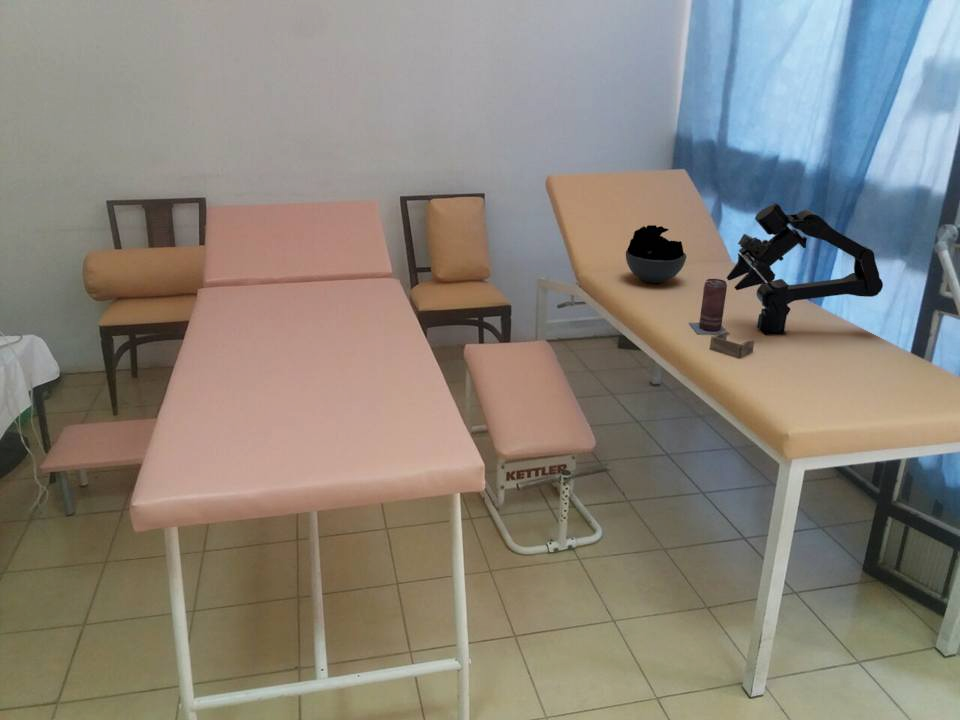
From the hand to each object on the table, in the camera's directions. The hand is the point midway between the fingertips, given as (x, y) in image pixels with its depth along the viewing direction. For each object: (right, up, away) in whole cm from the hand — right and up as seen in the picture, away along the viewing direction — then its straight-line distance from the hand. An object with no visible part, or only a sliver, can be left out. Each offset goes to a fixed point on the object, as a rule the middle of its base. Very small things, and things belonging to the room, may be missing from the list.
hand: (731, 284), depth 218 cm
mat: (-5, -12, +6) cm, 14 cm away
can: (-5, -12, +5) cm, 14 cm away
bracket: (-2, -18, -9) cm, 21 cm away
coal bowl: (-11, +5, +48) cm, 49 cm away
